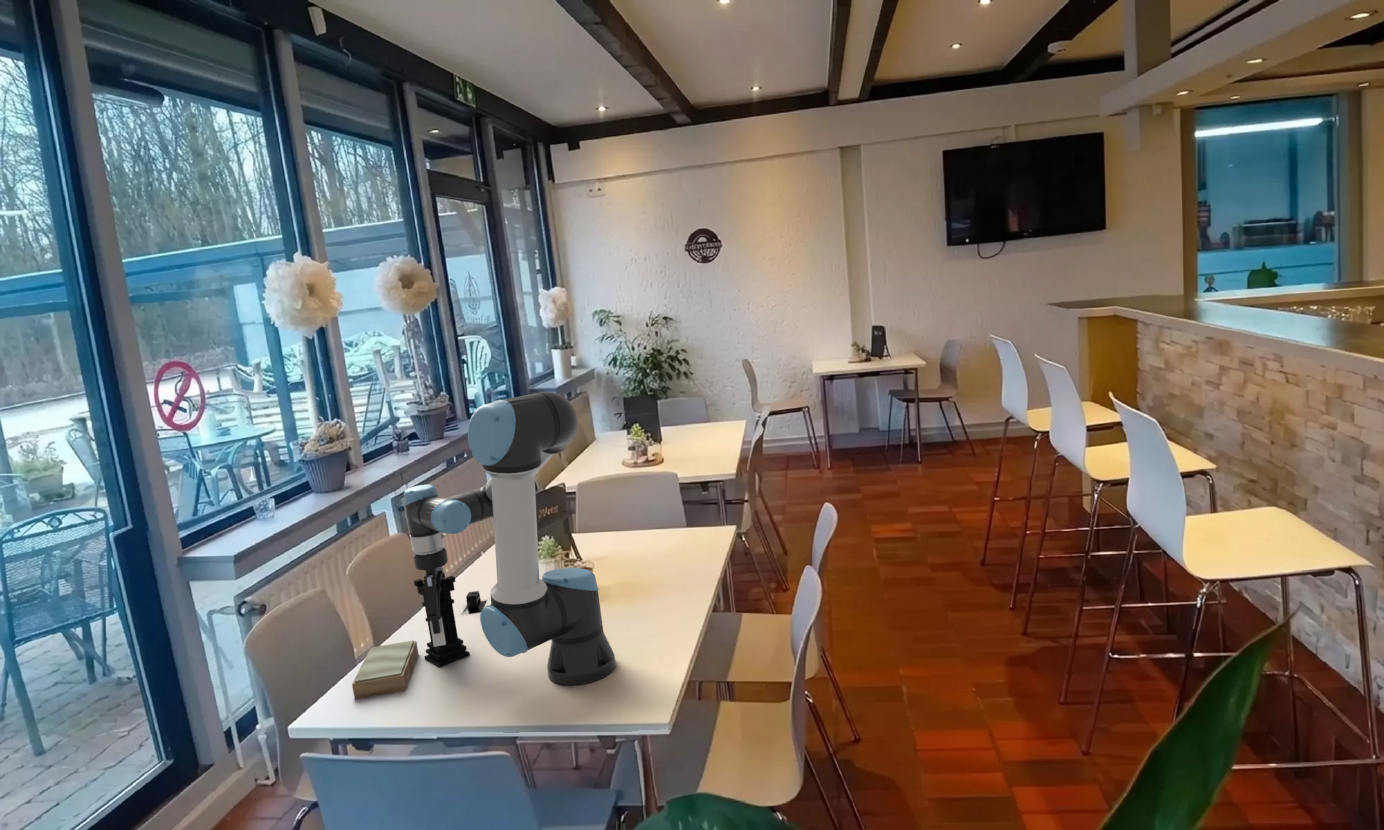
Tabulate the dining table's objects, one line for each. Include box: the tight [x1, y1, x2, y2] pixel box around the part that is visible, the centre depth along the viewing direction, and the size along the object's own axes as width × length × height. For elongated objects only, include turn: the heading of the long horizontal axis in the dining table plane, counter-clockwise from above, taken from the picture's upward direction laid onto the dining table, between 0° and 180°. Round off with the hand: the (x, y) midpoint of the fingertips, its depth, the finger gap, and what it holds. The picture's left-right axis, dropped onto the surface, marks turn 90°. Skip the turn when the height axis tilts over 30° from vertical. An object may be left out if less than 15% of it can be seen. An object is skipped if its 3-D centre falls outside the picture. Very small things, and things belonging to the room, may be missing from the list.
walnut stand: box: [351, 639, 419, 700], centre depth 201 cm, size 20×11×4 cm, turn 10°
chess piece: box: [413, 571, 471, 668], centre depth 207 cm, size 8×8×20 cm
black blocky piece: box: [461, 590, 488, 616], centre depth 241 cm, size 12×7×5 cm, turn 3°
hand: (443, 634), depth 208 cm, fingers open, 13 cm apart
